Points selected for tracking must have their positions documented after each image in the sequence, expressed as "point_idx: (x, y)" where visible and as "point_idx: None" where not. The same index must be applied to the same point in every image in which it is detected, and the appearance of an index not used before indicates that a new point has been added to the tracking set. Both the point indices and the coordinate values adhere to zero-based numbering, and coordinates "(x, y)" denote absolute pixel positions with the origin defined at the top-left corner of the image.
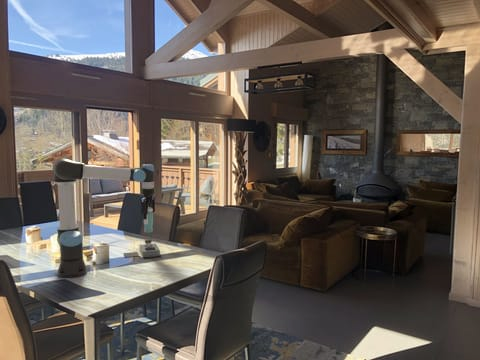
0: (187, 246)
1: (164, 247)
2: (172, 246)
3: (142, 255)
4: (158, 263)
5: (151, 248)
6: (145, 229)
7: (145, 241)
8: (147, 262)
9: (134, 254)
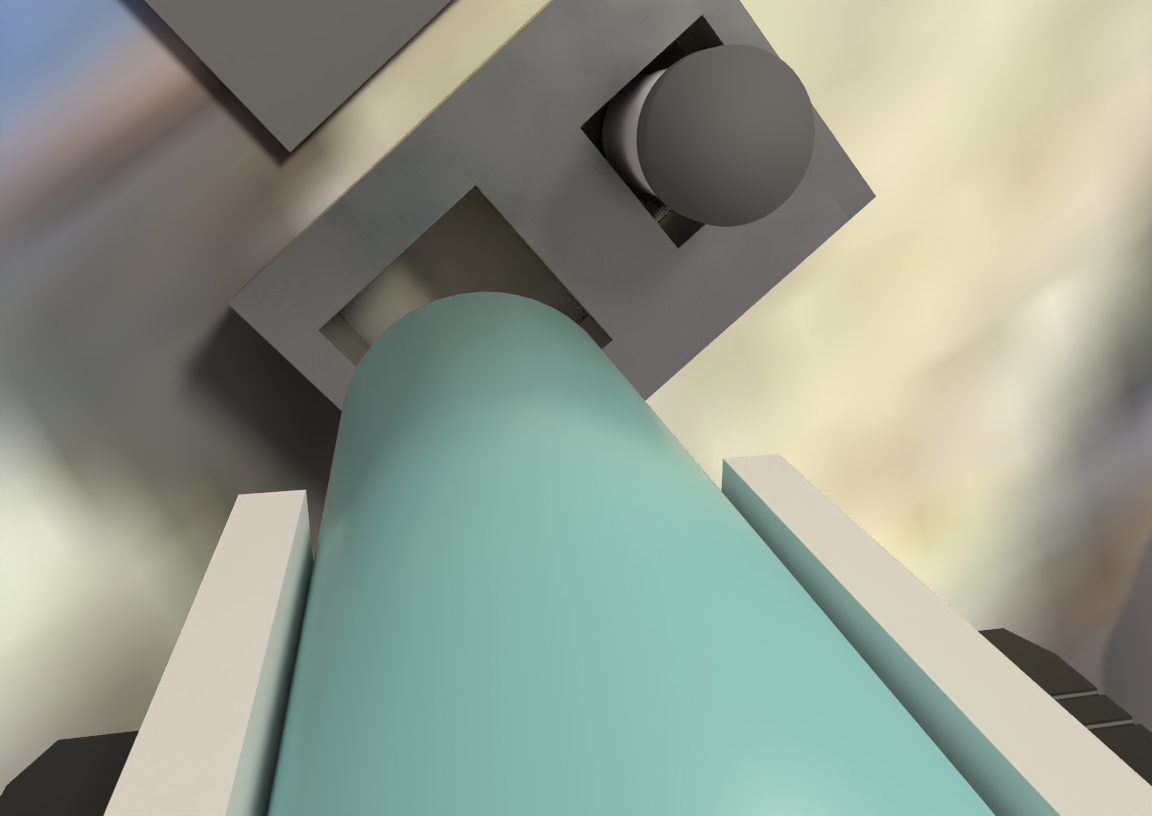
0: (1097, 578)
1: (969, 269)
2: (1053, 365)
3: (275, 257)
4: (135, 685)
5: (570, 290)
6: (337, 438)
7: (648, 105)
8: (81, 504)
9: (316, 10)
